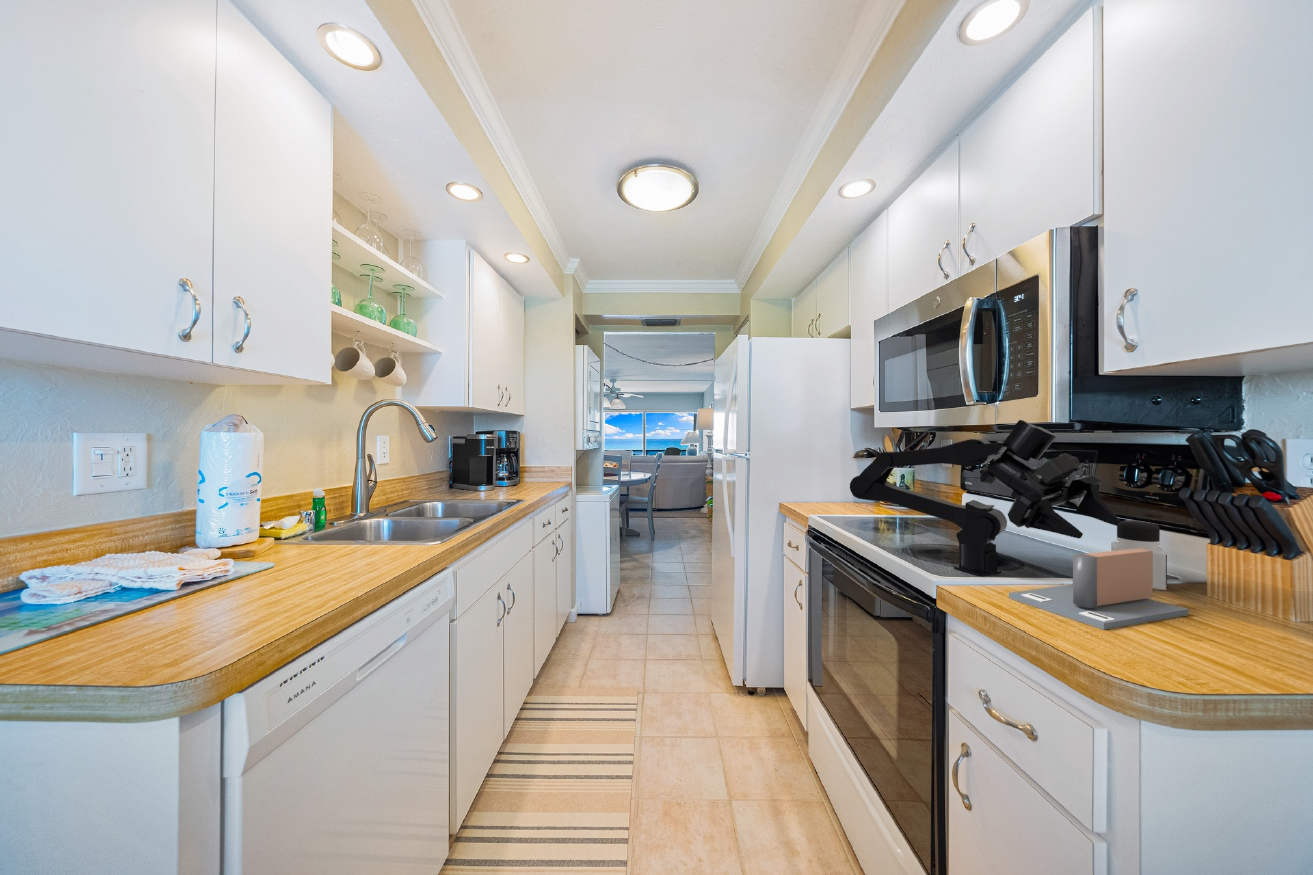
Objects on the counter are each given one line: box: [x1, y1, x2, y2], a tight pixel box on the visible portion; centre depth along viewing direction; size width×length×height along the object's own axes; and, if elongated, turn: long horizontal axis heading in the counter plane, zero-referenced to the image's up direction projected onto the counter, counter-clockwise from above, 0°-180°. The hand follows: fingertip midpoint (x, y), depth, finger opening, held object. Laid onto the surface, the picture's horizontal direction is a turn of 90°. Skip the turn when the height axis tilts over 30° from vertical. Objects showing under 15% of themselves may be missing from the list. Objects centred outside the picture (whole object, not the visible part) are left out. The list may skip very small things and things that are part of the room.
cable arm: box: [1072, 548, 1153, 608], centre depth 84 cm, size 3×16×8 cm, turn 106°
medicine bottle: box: [1110, 520, 1168, 591], centre depth 98 cm, size 7×7×12 cm
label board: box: [1008, 583, 1190, 631], centre depth 85 cm, size 15×20×1 cm
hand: (1100, 529), depth 88 cm, fingers open, 9 cm apart
